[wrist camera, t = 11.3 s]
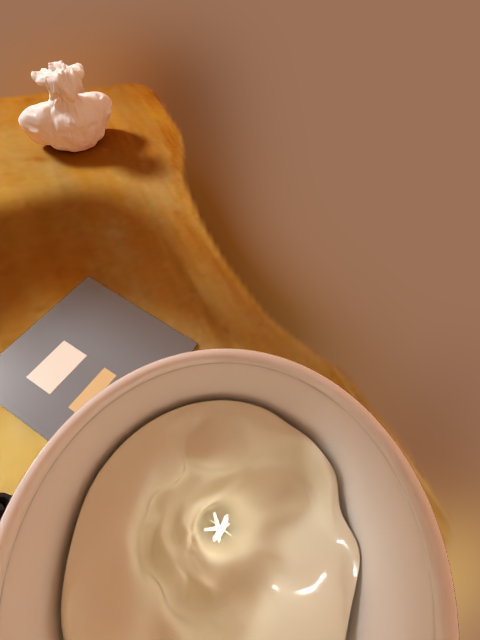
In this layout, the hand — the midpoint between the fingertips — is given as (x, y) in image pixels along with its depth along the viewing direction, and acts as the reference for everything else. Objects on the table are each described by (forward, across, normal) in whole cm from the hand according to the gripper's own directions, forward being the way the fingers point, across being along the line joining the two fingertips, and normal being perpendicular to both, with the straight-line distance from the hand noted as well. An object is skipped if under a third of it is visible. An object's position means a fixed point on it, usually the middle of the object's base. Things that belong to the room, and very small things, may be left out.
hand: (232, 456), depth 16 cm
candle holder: (+1, 0, -5) cm, 5 cm away
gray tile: (+15, -14, -5) cm, 21 cm away
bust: (+35, -30, +16) cm, 49 cm away
